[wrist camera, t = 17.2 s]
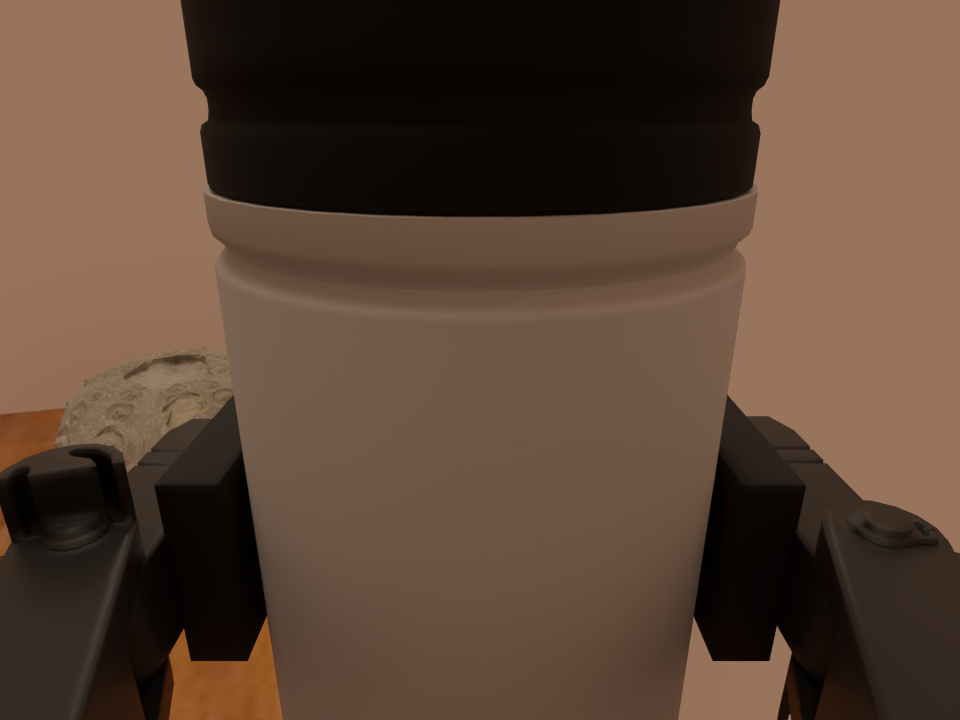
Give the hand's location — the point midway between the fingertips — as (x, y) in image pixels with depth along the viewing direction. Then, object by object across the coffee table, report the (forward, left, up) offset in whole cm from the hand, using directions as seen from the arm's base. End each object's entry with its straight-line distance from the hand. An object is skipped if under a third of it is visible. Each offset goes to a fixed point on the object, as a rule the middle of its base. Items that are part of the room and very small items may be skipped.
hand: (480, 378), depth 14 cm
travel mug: (-4, -3, -12) cm, 13 cm away
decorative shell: (+16, +41, -24) cm, 50 cm away
